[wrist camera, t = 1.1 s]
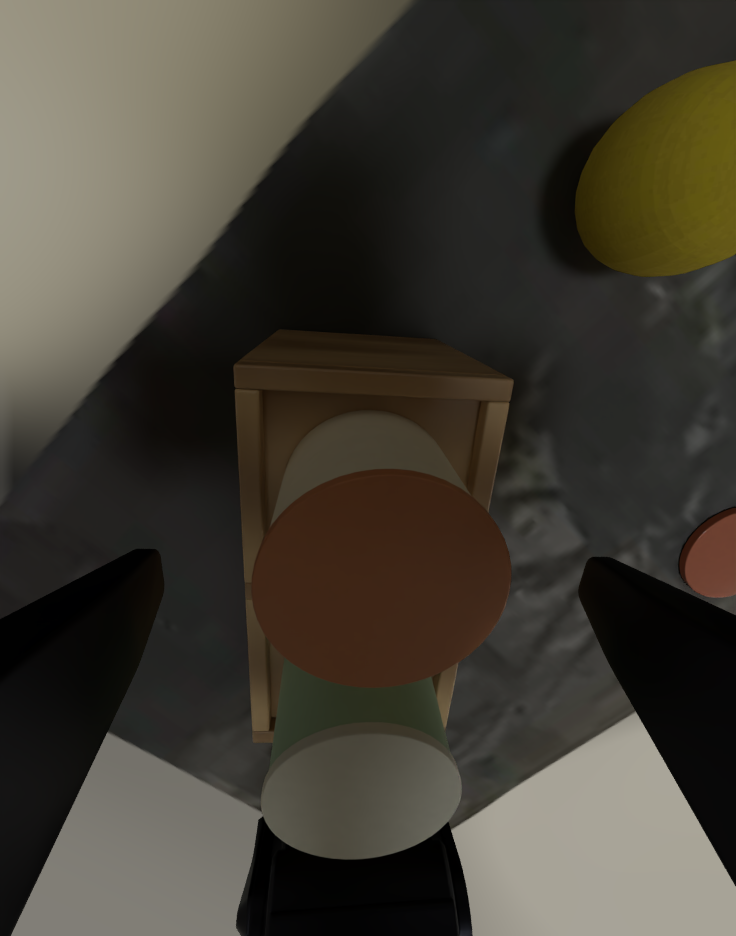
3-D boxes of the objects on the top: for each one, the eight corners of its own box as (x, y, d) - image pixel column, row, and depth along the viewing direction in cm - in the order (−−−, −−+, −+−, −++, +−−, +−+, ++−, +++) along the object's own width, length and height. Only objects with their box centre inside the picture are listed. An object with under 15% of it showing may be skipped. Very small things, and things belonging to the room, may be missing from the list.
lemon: (656, 274, 19) (861, 267, 12) (532, 281, 19) (661, 279, 11) (686, 118, 17) (962, -13, 9) (547, 124, 16) (717, -7, 9)
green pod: (418, 706, 16) (447, 855, 12) (282, 708, 16) (262, 864, 11) (435, 598, 14) (477, 731, 10) (281, 598, 14) (257, 736, 10)
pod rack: (406, 584, 24) (444, 739, 16) (281, 582, 24) (252, 743, 15) (437, 339, 19) (515, 379, 11) (278, 329, 19) (232, 363, 10)
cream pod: (440, 563, 14) (487, 687, 9) (280, 560, 13) (255, 690, 9) (464, 410, 12) (537, 479, 8) (278, 401, 11) (244, 469, 7)
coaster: (755, 592, 27) (762, 598, 26) (664, 592, 26) (670, 597, 26) (799, 506, 24) (808, 510, 24) (700, 503, 24) (707, 508, 23)
